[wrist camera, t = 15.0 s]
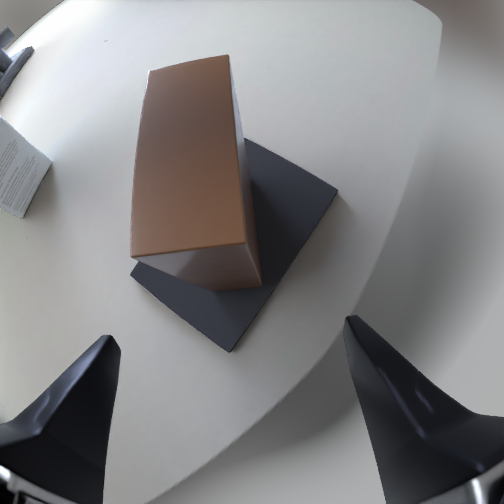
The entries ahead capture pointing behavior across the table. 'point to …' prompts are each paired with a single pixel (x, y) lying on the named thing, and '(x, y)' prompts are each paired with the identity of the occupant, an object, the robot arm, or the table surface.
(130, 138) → the table surface
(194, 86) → the block
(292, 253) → the mat
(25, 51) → the faucet
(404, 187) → the table surface
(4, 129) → the cosmetic box
